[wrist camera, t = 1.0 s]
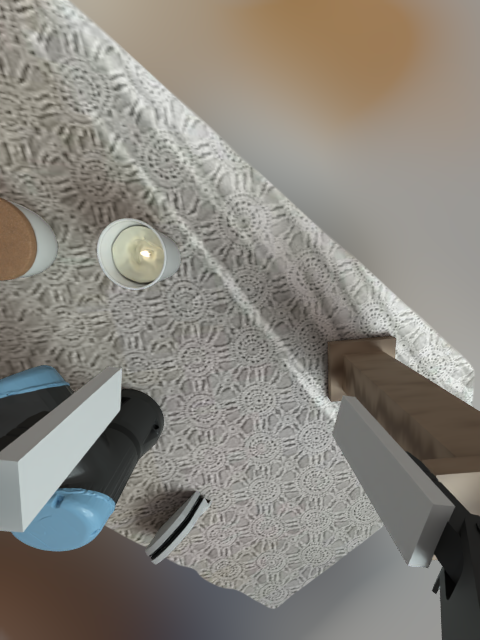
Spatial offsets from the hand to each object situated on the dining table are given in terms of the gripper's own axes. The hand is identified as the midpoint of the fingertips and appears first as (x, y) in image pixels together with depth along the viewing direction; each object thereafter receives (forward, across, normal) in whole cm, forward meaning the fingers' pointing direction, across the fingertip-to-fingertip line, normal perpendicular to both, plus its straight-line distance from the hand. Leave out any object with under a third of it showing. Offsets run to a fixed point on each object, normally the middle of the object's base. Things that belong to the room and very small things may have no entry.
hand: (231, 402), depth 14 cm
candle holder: (+34, +15, -7) cm, 38 cm away
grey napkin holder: (+35, +6, +55) cm, 65 cm away
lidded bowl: (+35, +38, -6) cm, 52 cm away
